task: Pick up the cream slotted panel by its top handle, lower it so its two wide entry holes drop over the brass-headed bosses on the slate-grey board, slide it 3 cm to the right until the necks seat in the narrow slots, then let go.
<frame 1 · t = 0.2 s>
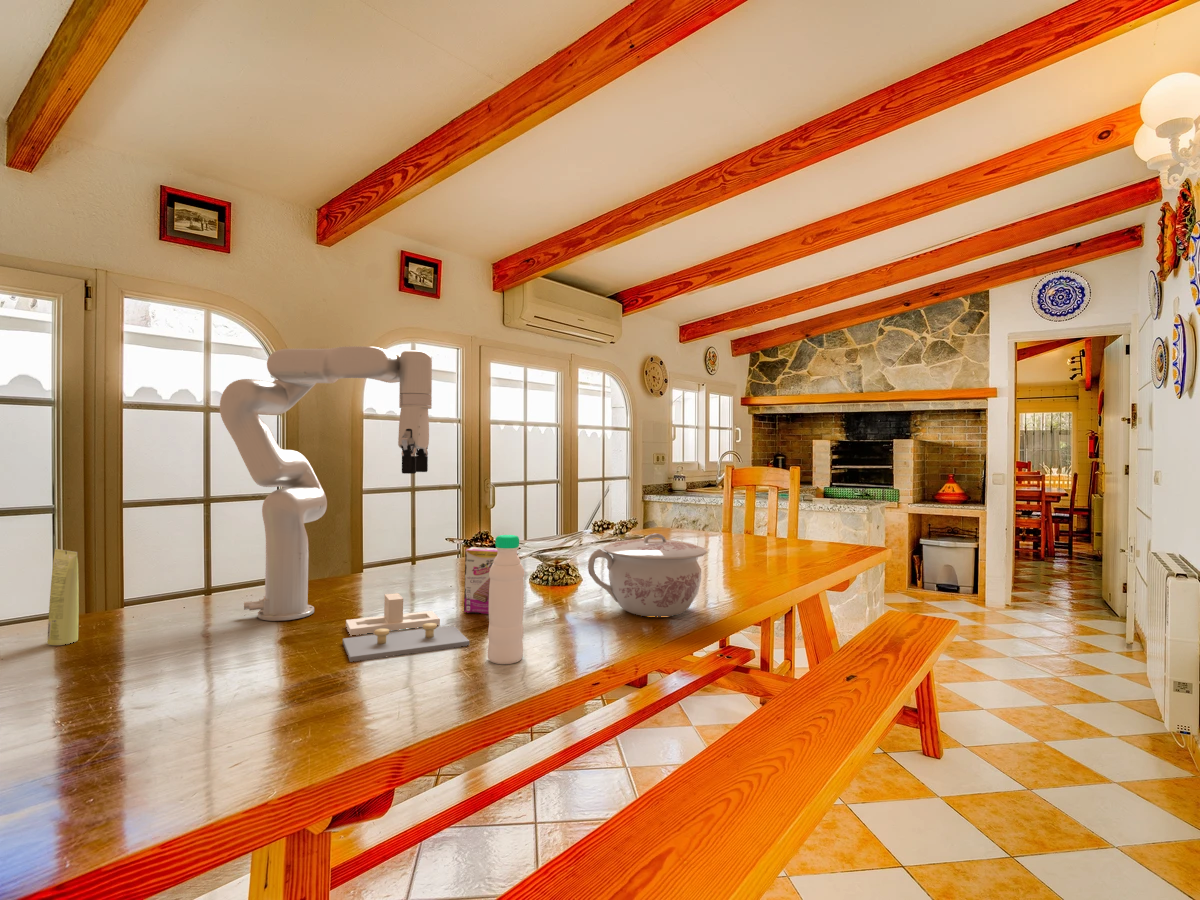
hand: (415, 472, 151), 36 cm above the table, tool pointing down, fingers open, 9 cm apart
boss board: (406, 644, 134), on the table
tube: (63, 643, 131), on the table
chamber pot: (652, 611, 165), on the table
panel: (393, 626, 147), on the table
water bottle: (505, 660, 126), on the table
candy bar box: (487, 612, 161), on the table
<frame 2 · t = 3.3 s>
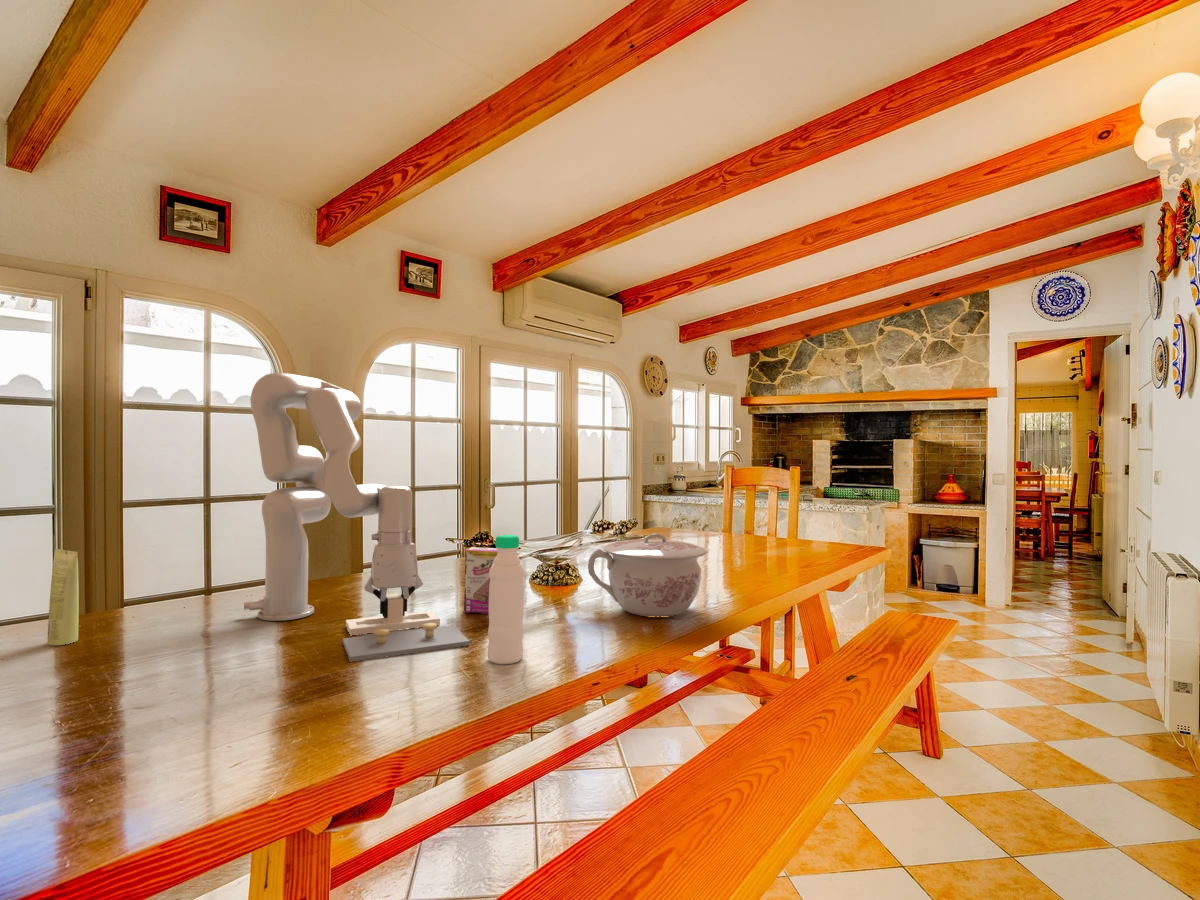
hand: (393, 615, 147), 3 cm above the table, tool pointing down, fingers closed on panel, 3 cm apart
panel: (393, 626, 147), on the table, touching gripper
everything else where it was.
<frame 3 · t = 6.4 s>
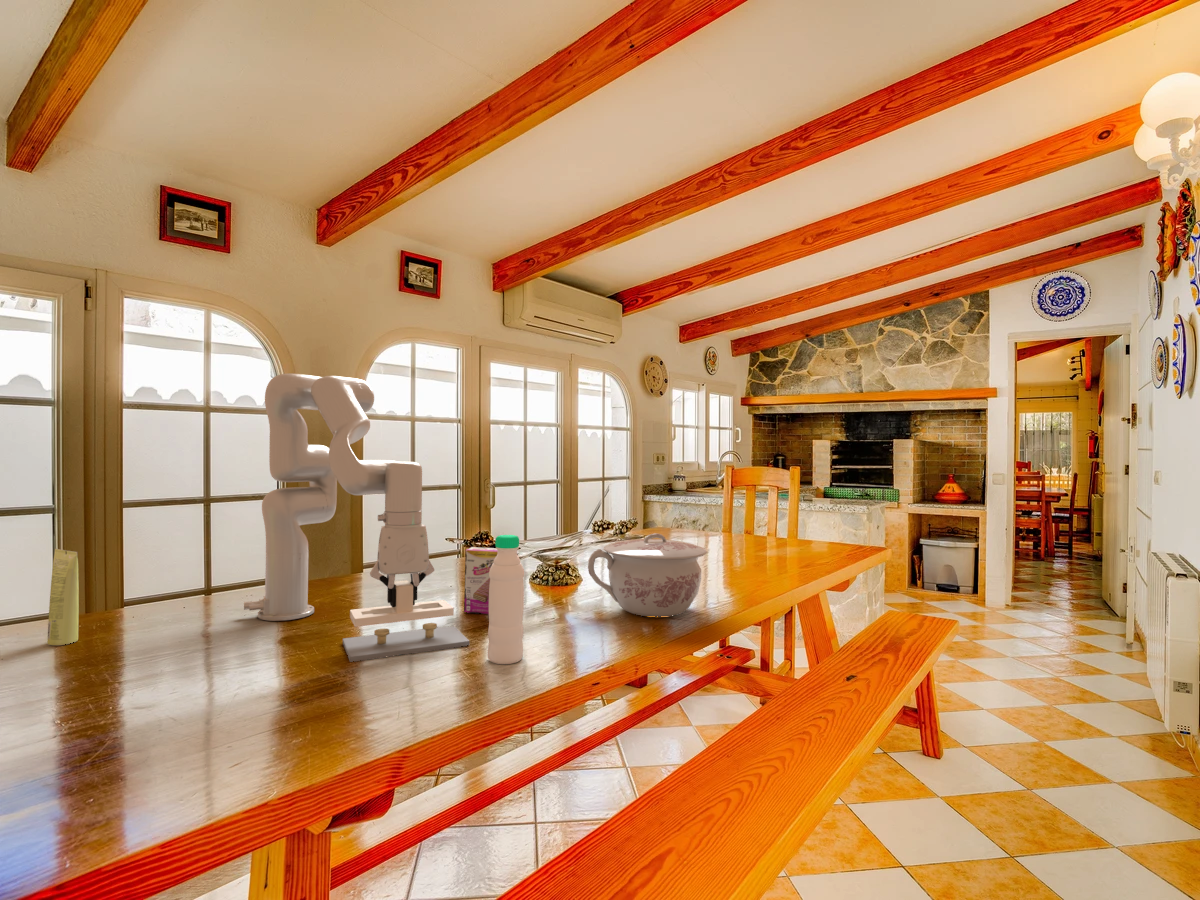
hand: (402, 604, 133), 9 cm above the table, tool pointing down, fingers closed on panel, 3 cm apart
panel: (402, 616, 133), point 6 cm above the table, touching gripper
everything else where it was.
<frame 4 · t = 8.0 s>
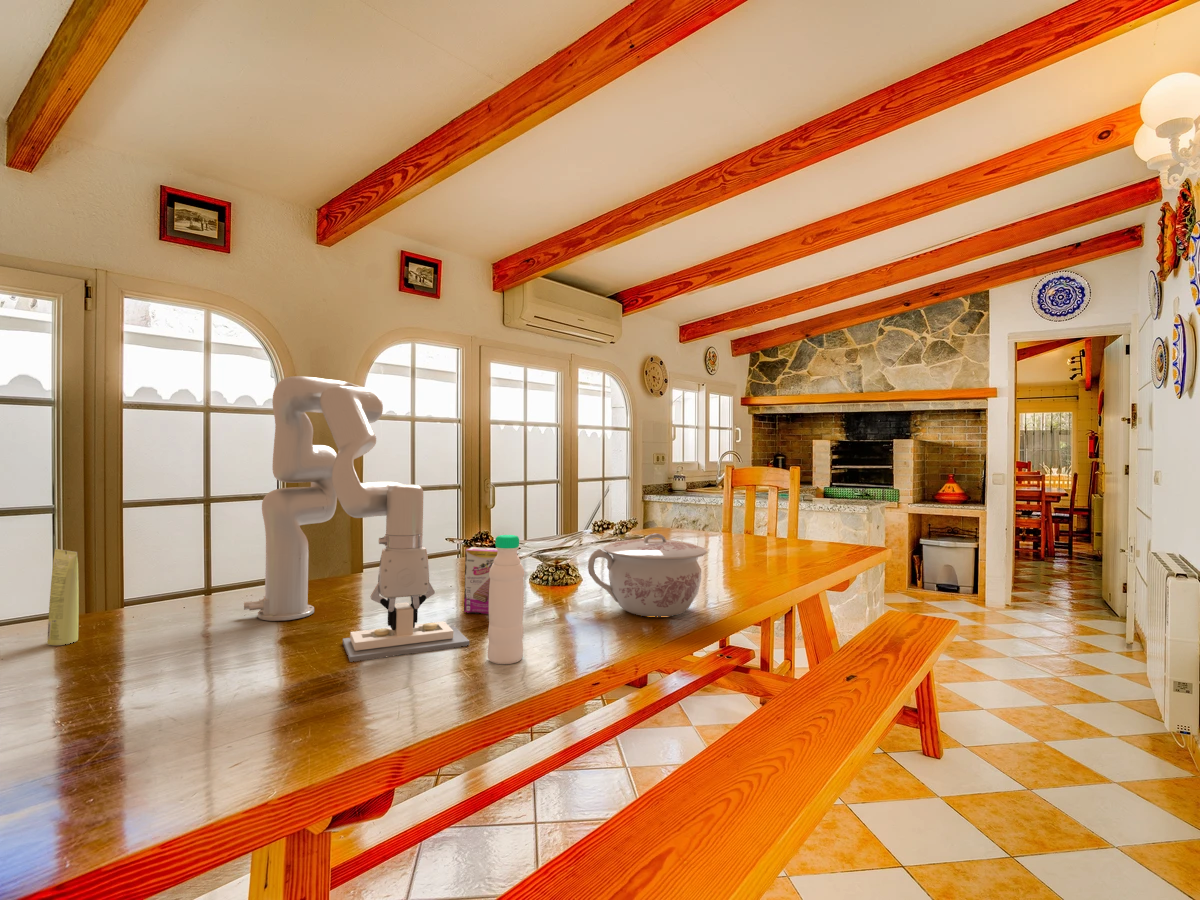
hand: (402, 626, 134), 4 cm above the table, tool pointing down, fingers closed on panel, 3 cm apart
panel: (402, 638, 134), point 1 cm above the table, touching gripper
everything else where it was.
when the fingers open (4 cm above the table, at t = 9.4 s): panel stays where it is, resting on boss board.
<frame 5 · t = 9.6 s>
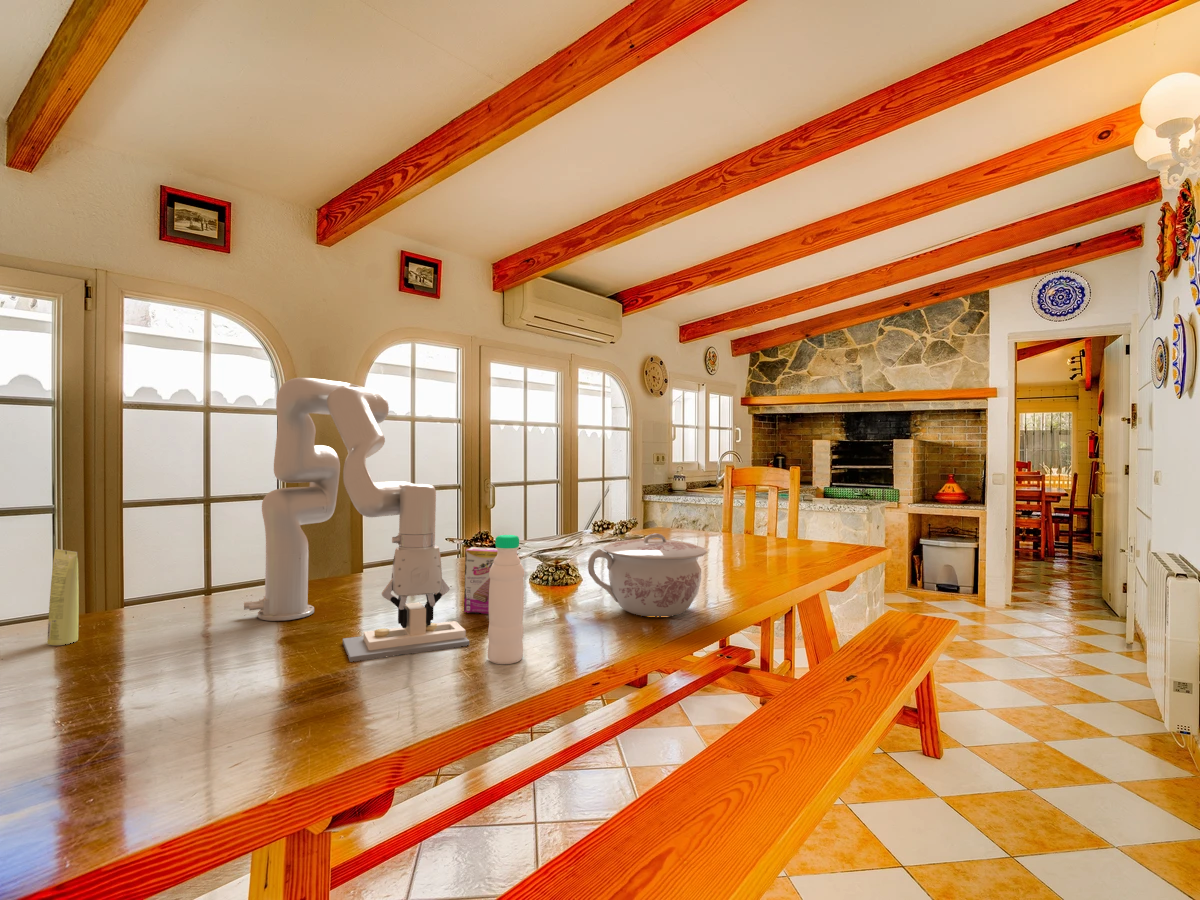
hand: (415, 624, 135), 4 cm above the table, tool pointing down, fingers open, 4 cm apart
panel: (414, 638, 135), point 1 cm above the table, touching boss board
everything else where it was.
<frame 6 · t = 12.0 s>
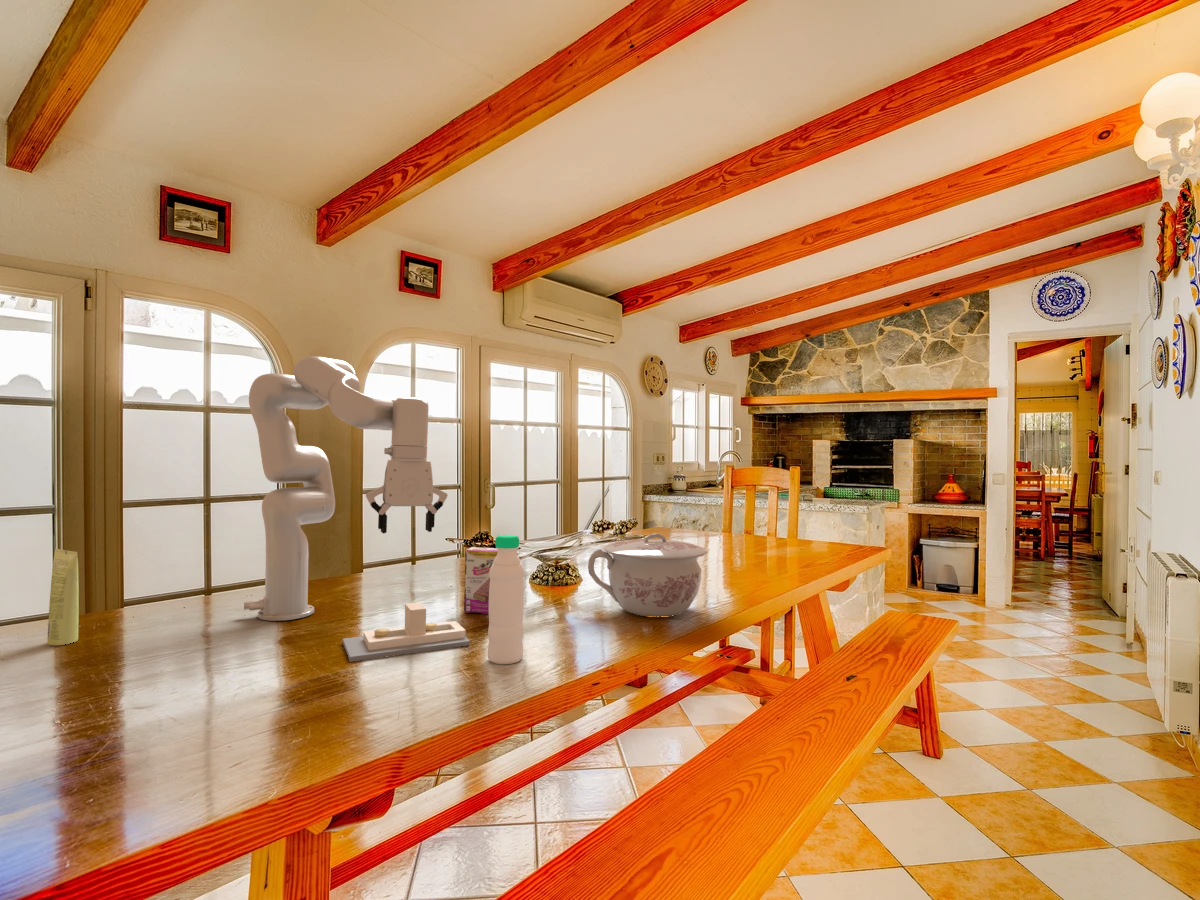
hand: (406, 531, 137), 24 cm above the table, tool pointing down, fingers open, 9 cm apart
nothing on the table moved.
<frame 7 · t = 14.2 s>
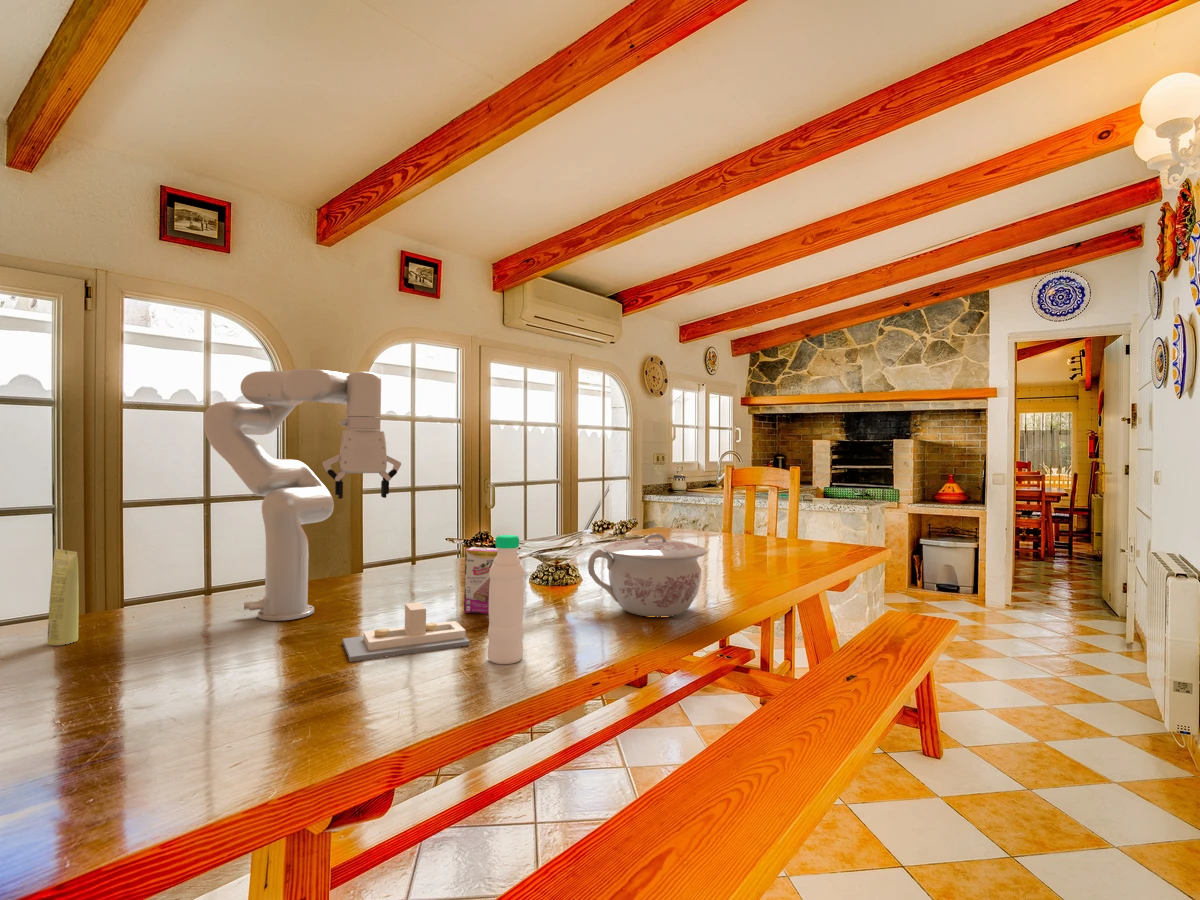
hand: (362, 497, 146), 30 cm above the table, tool pointing down, fingers open, 9 cm apart
nothing on the table moved.
at the end: panel 0.3 cm from the target spot on the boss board, point 1.0 cm above the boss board's base; panel tilted 0°; the gripper is holding nothing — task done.
